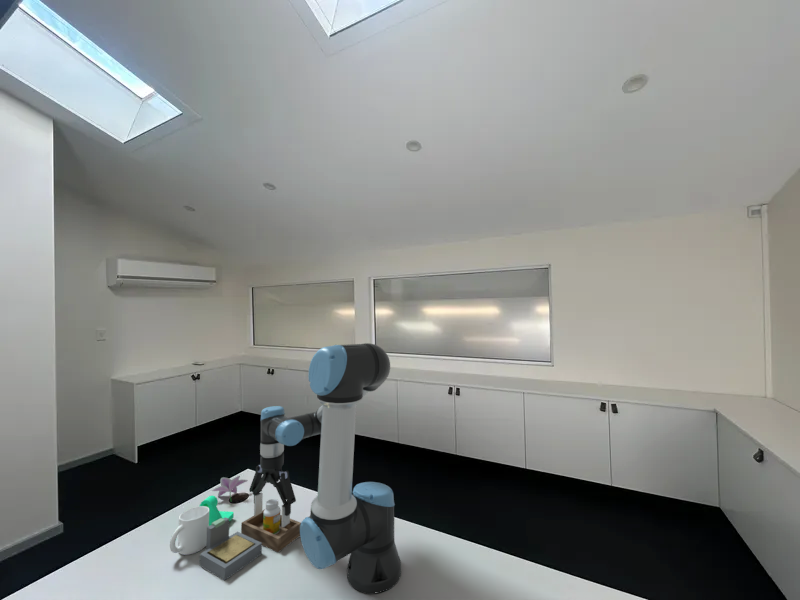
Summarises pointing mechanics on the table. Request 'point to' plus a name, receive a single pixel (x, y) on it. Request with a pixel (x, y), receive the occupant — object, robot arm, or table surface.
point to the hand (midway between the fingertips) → (271, 519)
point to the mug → (191, 531)
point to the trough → (269, 540)
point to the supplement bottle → (272, 517)
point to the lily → (229, 485)
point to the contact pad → (231, 549)
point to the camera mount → (215, 510)
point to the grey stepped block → (219, 535)
